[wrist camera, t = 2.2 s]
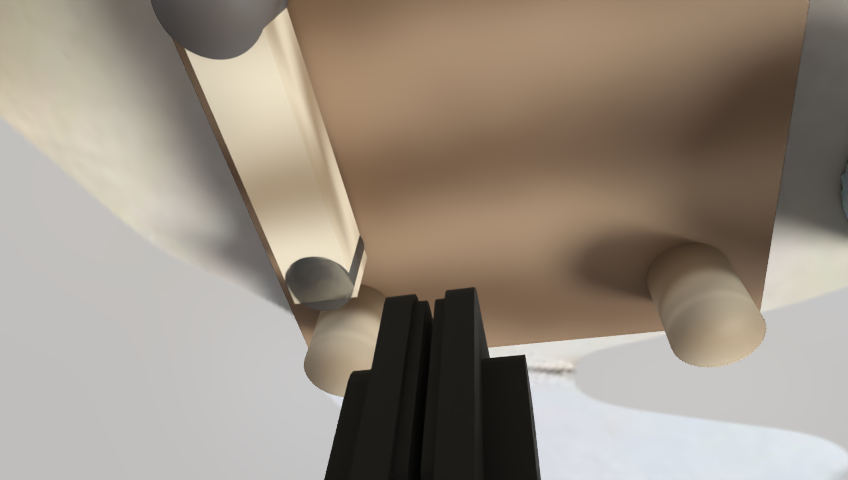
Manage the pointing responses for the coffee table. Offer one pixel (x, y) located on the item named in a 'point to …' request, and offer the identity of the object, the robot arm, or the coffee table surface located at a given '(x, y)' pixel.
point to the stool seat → (552, 164)
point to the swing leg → (274, 139)
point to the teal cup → (845, 190)
